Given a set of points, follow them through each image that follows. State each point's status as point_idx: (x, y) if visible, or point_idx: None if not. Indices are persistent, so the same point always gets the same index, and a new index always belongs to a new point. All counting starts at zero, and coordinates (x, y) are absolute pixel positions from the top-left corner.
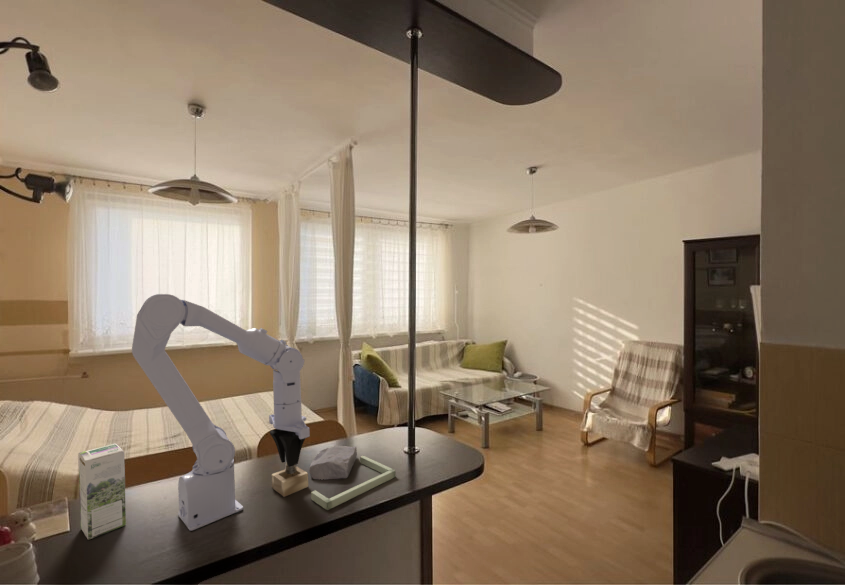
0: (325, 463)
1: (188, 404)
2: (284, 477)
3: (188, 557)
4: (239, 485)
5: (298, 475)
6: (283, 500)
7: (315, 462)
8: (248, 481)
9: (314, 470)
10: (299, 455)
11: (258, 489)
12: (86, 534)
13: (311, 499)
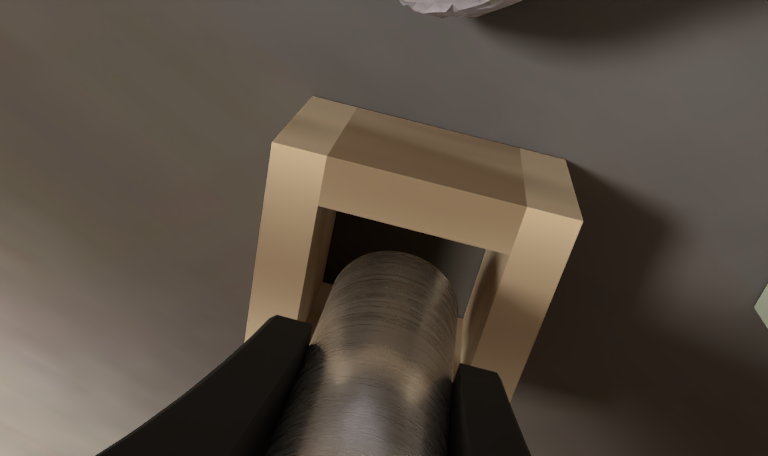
0: None
1: None
2: (315, 267)
3: None
4: (39, 366)
5: (519, 304)
6: (526, 391)
7: None
8: (25, 305)
9: (501, 4)
10: (524, 444)
11: (210, 354)
12: None
13: (756, 306)
